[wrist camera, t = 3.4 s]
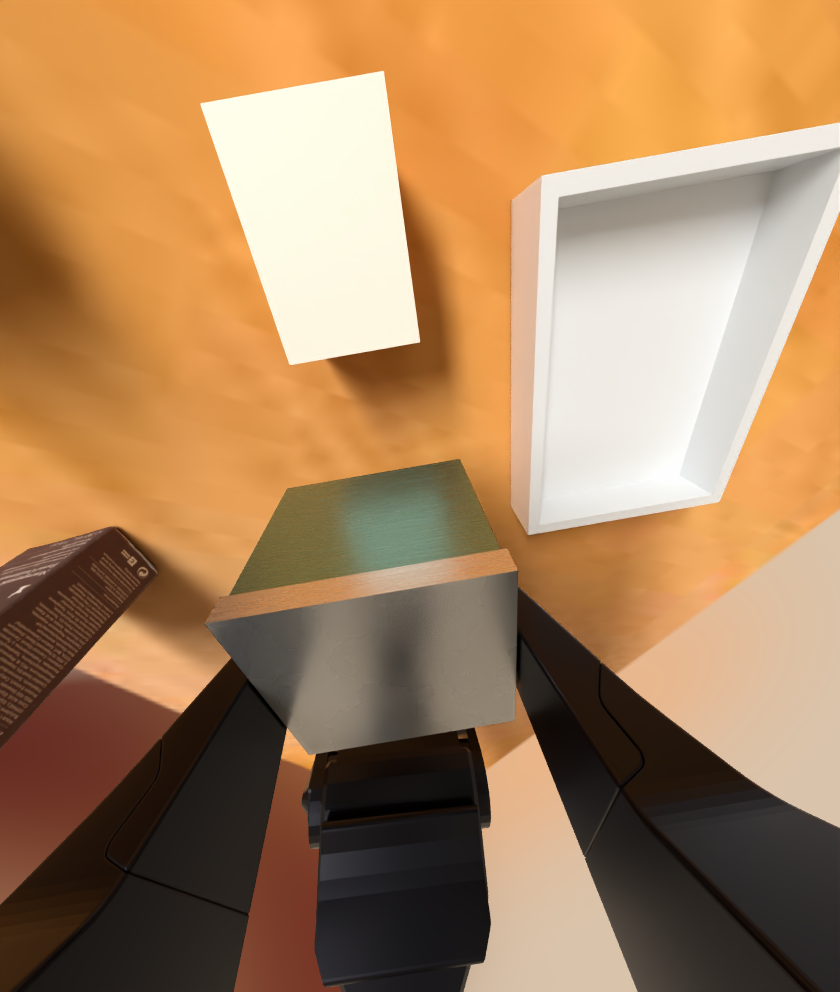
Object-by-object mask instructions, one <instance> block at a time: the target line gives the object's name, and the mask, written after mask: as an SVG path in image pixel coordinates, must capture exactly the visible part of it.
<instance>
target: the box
mask: <svg viewBox="0 0 840 992" xmlns="http://www.w3.org/2000/svg"><path fill="white" fill-rule="evenodd" d="M157 575H158V572H157V571H156V569H155V567H154V565H153V564H152V563H151V562H150V561H148V559H147V558H146V557H145V556H144V555H143V554H142V552H141V551H140V550H138V549H137V548H136V547H135V546H134V545H133V544H132V543H131V542H130V541H129V540H128V539H127V538H126V537H125V536H124V535H123V534H122V533H121V532H120V531H118V530H117V529H116V528H115V527H107V528H104V529H101V530H97V531H94V532H91V533H87V534H84V535H81V536H77V537H73V538H69V539H66V540H63V541H59V542H56V543H52V544H48V545H44V546H39V547H35V548H30V549H27V550H26V551H25V552H23V553H22V554H20V555H18V556H17V557H15V558H14V559H12V560H11V561H9V562H7V563H6V564H5V565H3V566H1V567H0V749H1V748H2V747H3V745H4V744H5V743H6V742H7V741H8V740H9V739H10V738H11V737H12V736H13V735H14V734H15V732H16V731H17V730H18V729H19V728H20V727H21V725H22V724H23V723H24V722H25V721H26V720H27V719H28V717H30V716H31V714H32V713H33V712H34V711H35V710H36V709H37V708H38V707H39V706H40V704H41V703H42V702H43V701H44V700H45V699H46V698H47V697H48V696H49V694H50V693H51V692H52V691H53V690H54V689H55V688H56V687H57V685H58V684H59V683H60V682H61V681H62V680H63V679H64V678H65V677H66V676H67V675H68V674H69V672H70V671H71V670H72V669H73V668H74V667H75V666H76V665H77V664H78V663H79V661H80V660H81V659H82V658H83V657H84V656H85V655H86V654H87V652H88V651H89V650H90V649H91V648H92V647H93V646H94V644H95V643H96V642H97V641H98V640H99V639H100V638H101V637H102V636H103V635H104V633H105V632H106V631H107V630H108V629H109V628H110V627H111V626H112V625H113V624H114V623H115V622H116V620H117V619H118V618H119V617H120V616H121V615H122V614H123V613H124V611H125V610H126V609H127V608H128V607H129V606H130V605H131V604H132V603H133V602H134V601H135V599H136V598H137V597H138V596H139V595H140V594H141V593H142V592H143V590H144V589H145V588H146V587H147V586H148V585H149V584H150V583H151V582H152V581H153V579H154V578H155V577H156V576H157Z"/></svg>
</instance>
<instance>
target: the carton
mask: <svg viewBox="0 0 840 992" xmlns="http://www.w3.org/2000/svg"><path fill="white" fill-rule="evenodd" d="M201 107H202V110H203V113H204V116H205V119H206V122H207V125H208V128H209V131H210V134H211V136H212V139H213V142H214V145H215V148H216V151H217V154H218V157H219V160H220V163H221V166H222V169H223V171H224V174H225V177H226V180H227V183H228V186H229V189H230V192H231V195H232V198H233V201H234V204H235V207H236V209H237V212H238V215H239V218H240V221H241V224H242V227H243V230H244V233H245V236H246V239H247V242H248V244H249V247H250V250H251V253H252V256H253V259H254V262H255V265H256V268H257V271H258V274H259V277H260V280H261V282H262V285H263V288H264V291H265V294H266V297H267V300H268V303H269V306H270V309H271V312H272V315H273V318H274V320H275V323H276V326H277V329H278V332H279V335H280V338H281V341H282V344H283V347H284V350H285V353H286V355H287V358H288V361H289V364H290V365H293V364H299V363H305V362H310V361H316V360H322V359H328V358H333V357H339V356H345V355H350V354H356V353H362V352H368V351H373V350H379V349H385V348H390V347H396V346H402V345H408V344H413V343H419V342H420V338H419V330H418V323H417V315H416V308H415V301H414V293H413V286H412V278H411V271H410V263H409V256H408V249H407V241H406V234H405V226H404V219H403V211H402V204H401V197H400V189H399V182H398V174H397V167H396V160H395V152H394V145H393V137H392V130H391V122H390V115H389V108H388V100H387V93H386V85H385V78H384V71H380V72H375V73H369V74H364V75H358V76H352V77H347V78H341V79H336V80H330V81H324V82H319V83H313V84H308V85H302V86H296V87H291V88H285V89H280V90H274V91H268V92H263V93H257V94H251V95H246V96H240V97H235V98H229V99H223V100H218V101H212V102H207V103H201Z"/></svg>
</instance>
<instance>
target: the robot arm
mask: <svg viewBox="0 0 840 992" xmlns="http://www.w3.org/2000/svg"><path fill="white" fill-rule="evenodd" d="M600 663H601V662H600V660H599V659H598V658H597V657H596V656H595V655H593V654H592V653H591V652H590V651H589V650H588V649H587V648H586V647H585V646H583V645H582V644H581V643H580V642H579V641H578V640H577V639H576V638H575V637H573V636H572V635H571V634H570V633H569V632H568V631H567V630H566V629H565V628H563V627H562V626H561V625H560V624H559V623H558V622H557V621H556V620H555V619H554V618H552V617H551V616H550V615H549V614H548V613H547V612H546V611H545V610H544V609H542V608H541V607H540V606H539V605H538V604H537V603H536V602H535V601H534V600H532V599H531V598H530V597H529V596H528V595H527V594H526V593H525V592H524V591H522V590H521V589H520V588H519V587H518V599H517V651H516V687H517V689H518V692H519V694H520V697H521V699H522V702H523V704H524V707H525V709H526V712H527V714H528V717H529V719H530V722H531V724H532V727H533V729H534V732H535V734H536V737H537V739H538V742H539V745H540V747H541V749H542V752H543V755H544V757H545V759H546V762H547V765H548V767H549V770H550V772H551V775H552V777H553V780H554V782H555V784H556V787H557V790H558V792H559V795H560V797H561V800H562V802H563V805H564V807H565V810H566V812H567V815H568V817H569V820H570V822H571V825H572V827H573V830H574V833H575V835H576V838H577V840H578V843H579V845H580V848H581V850H582V853H583V855H584V856H585V857H586V858H585V860H586V863H587V865H588V868H589V871H590V873H591V876H592V878H593V881H594V883H595V886H596V888H597V891H598V893H599V896H600V898H601V901H602V903H603V905H604V908H605V911H606V913H607V916H608V918H609V921H610V923H611V926H612V928H613V931H614V933H615V936H616V938H617V941H618V943H619V946H620V948H621V951H622V953H623V956H624V958H625V961H626V963H627V966H628V968H629V971H630V973H631V976H632V979H633V981H634V984H635V986H636V989H637V991H638V992H840V828H839V827H837V826H834V825H832V824H830V823H828V822H826V821H824V820H822V819H820V818H818V817H815V816H813V815H811V814H809V813H807V812H805V811H803V810H801V809H798V808H797V807H795V806H793V805H791V804H789V803H787V802H785V801H783V800H781V799H780V798H778V797H776V796H774V795H773V794H771V793H770V792H768V791H766V790H764V789H763V788H761V787H760V786H758V785H757V784H755V783H754V782H752V781H751V780H749V779H748V778H747V777H745V776H744V775H743V774H741V773H740V772H738V771H737V770H736V769H734V768H733V767H732V766H730V765H729V764H728V763H727V762H725V761H724V760H723V759H721V758H720V757H719V756H717V755H716V754H715V753H713V752H712V751H711V750H710V749H708V748H707V747H706V746H704V745H703V744H702V743H700V742H699V741H698V740H696V739H695V738H694V737H692V736H691V735H690V734H689V733H687V732H686V731H685V730H683V729H682V728H681V727H679V726H678V725H677V724H676V723H674V722H673V721H672V720H670V719H669V718H668V717H666V716H665V715H664V714H663V713H661V712H660V711H659V710H658V709H656V708H655V707H654V706H652V705H651V704H650V703H649V702H647V701H646V700H645V699H644V698H642V697H641V696H640V695H639V694H637V693H636V692H635V691H634V690H633V689H632V688H630V687H629V686H628V685H627V684H626V683H625V682H624V681H623V680H621V679H620V678H619V677H618V676H617V675H616V674H615V673H613V672H612V671H611V670H610V669H609V668H608V667H607V666H606V665H605V664H603V663H601V664H600ZM286 730H287V727H286V725H285V724H284V723H283V722H282V720H281V719H280V718H279V717H278V715H277V714H276V713H275V712H274V710H273V709H272V708H271V707H270V705H269V704H268V703H267V702H266V700H265V699H264V698H263V697H262V695H261V694H260V693H259V692H258V690H257V689H256V688H255V687H254V685H253V684H252V683H251V682H250V680H249V679H248V678H247V677H246V675H245V674H244V673H243V672H242V670H241V669H240V668H239V667H238V665H237V664H236V663H235V662H234V660H233V659H232V658H231V659H230V660H229V661H228V662H227V663H226V665H225V666H224V667H223V668H222V669H221V670H220V671H219V672H218V674H217V675H216V676H215V677H214V678H213V679H212V680H211V681H210V683H209V684H208V685H207V686H206V687H205V688H204V689H203V690H202V692H201V693H200V694H199V695H198V696H197V697H196V698H195V699H194V701H193V702H192V703H191V704H190V705H189V706H188V707H187V708H186V710H185V711H184V712H183V713H182V714H181V715H180V717H179V718H178V719H177V720H176V721H175V722H174V723H173V724H172V725H171V727H170V728H169V729H168V730H167V731H166V732H165V733H164V735H163V736H162V739H159V740H158V741H157V742H156V743H155V744H154V746H153V747H152V748H151V749H150V750H149V751H148V752H147V753H146V755H145V756H144V757H143V758H142V759H141V760H140V761H139V762H138V763H137V764H136V766H135V767H134V768H133V769H132V770H131V771H130V772H129V773H128V774H127V775H126V777H125V778H124V779H123V780H122V781H121V782H120V783H119V784H118V786H116V787H115V788H114V789H113V790H112V791H111V793H110V794H109V795H108V796H107V797H106V798H105V799H104V800H103V801H102V802H101V803H100V804H99V805H98V806H97V807H96V808H95V809H94V810H93V811H92V812H91V813H90V814H89V816H87V818H86V819H84V821H83V822H82V823H81V824H80V825H79V826H78V827H77V828H76V829H75V830H74V831H73V832H72V833H71V834H70V835H69V836H68V837H67V838H66V839H65V840H64V841H63V842H62V843H61V844H60V845H59V846H58V847H57V848H56V849H55V850H54V851H53V852H52V853H51V854H50V855H49V856H48V857H47V858H46V859H45V860H44V861H43V862H42V863H41V864H40V865H39V866H38V867H37V868H36V869H35V870H34V871H33V872H32V873H31V874H30V875H29V877H27V878H26V880H25V881H24V882H23V883H22V884H21V885H20V886H19V887H18V888H17V889H16V890H15V891H14V892H13V893H12V894H11V895H10V896H9V897H8V898H6V900H4V901H3V902H2V904H0V992H234V987H235V982H236V977H237V972H238V967H239V962H240V957H241V952H242V948H243V943H244V938H245V933H246V927H247V923H248V918H249V915H248V913H249V912H250V907H251V902H252V897H253V892H254V887H255V882H256V877H257V872H258V868H259V863H260V858H261V853H262V848H263V843H264V838H265V833H266V828H267V824H268V819H269V814H270V809H271V804H272V798H273V794H274V789H275V784H276V779H277V774H278V770H279V765H280V760H281V755H282V750H283V745H284V740H285V735H286ZM302 807H303V808H304V810H305V812H306V813H307V814H308V825H309V826H308V827H309V844H310V847H311V848H312V849H317V848H319V865H318V887H317V910H316V918H317V919H316V921H317V922H316V933H315V954H316V958H317V962H318V966H319V970H320V974H321V978H322V982H323V985H324V986H325V987H331V986H338V985H340V988H341V990H342V992H463V991H464V988H465V984H466V980H467V977H468V973H469V969H470V966H471V965H473V964H480V963H483V962H484V960H485V956H486V950H487V944H488V938H489V932H490V926H491V919H490V911H489V905H488V887H487V877H486V868H485V858H484V849H483V839H482V830H481V829H482V828H489V827H490V822H491V811H490V797H489V789H488V782H487V776H486V770H485V765H484V761H483V757H482V753H481V749H480V745H479V742H478V738H477V735H476V731H475V728H468V729H462V730H456V731H450V732H444V733H438V734H432V735H426V736H420V737H414V738H408V739H402V740H396V741H390V742H384V743H378V744H372V745H366V746H360V747H354V748H348V749H342V750H336V751H330V752H324V753H318V754H316V757H315V761H314V764H313V766H312V769H311V772H310V775H309V778H308V781H307V784H306V787H305V789H304V792H303V797H302Z"/></svg>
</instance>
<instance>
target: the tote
mask: <svg viewBox="0 0 840 992" xmlns="http://www.w3.org/2000/svg"><path fill="white" fill-rule="evenodd" d="M839 212H840V123H834V124H829V125H823V126H818V127H812V128H806V129H801V130H795V131H789V132H784V133H778V134H773V135H767V136H761V137H756V138H750V139H744V140H739V141H733V142H728V143H722V144H716V145H711V146H705V147H700V148H694V149H688V150H683V151H677V152H671V153H666V154H660V155H655V156H649V157H643V158H638V159H632V160H626V161H621V162H615V163H610V164H604V165H598V166H593V167H587V168H581V169H576V170H570V171H565V172H559V173H553V174H548V175H542V176H541V177H539V178H538V179H537V180H536V181H535V182H533V183H532V184H531V185H530V186H529V187H527V188H526V189H525V190H524V191H522V192H521V193H520V194H519V195H518V196H516V197H515V198H514V199H513V200H511V508H512V509H513V511H514V513H515V514H516V516H517V517H518V519H519V521H520V522H521V524H522V526H523V527H524V529H525V531H526V532H527V534H528V535H532V534H538V533H544V532H549V531H555V530H561V529H567V528H572V527H578V526H584V525H590V524H596V523H601V522H607V521H613V520H619V519H624V518H630V517H636V516H642V515H647V514H653V513H659V512H665V511H670V510H676V509H682V508H688V507H694V506H699V505H705V504H711V503H717V502H719V501H720V499H721V497H722V494H723V492H724V489H725V487H726V485H727V482H728V480H729V477H730V475H731V472H732V470H733V468H734V465H735V463H736V460H737V458H738V456H739V453H740V451H741V448H742V446H743V444H744V441H745V439H746V436H747V434H748V431H749V429H750V427H751V424H752V422H753V419H754V417H755V415H756V412H757V410H758V407H759V405H760V402H761V400H762V398H763V395H764V393H765V390H766V388H767V386H768V383H769V381H770V378H771V376H772V373H773V371H774V369H775V366H776V364H777V361H778V359H779V357H780V354H781V352H782V349H783V347H784V344H785V342H786V340H787V337H788V335H789V332H790V330H791V328H792V325H793V323H794V320H795V318H796V315H797V313H798V311H799V308H800V306H801V303H802V301H803V299H804V296H805V294H806V291H807V289H808V286H809V284H810V282H811V279H812V277H813V274H814V272H815V270H816V267H817V265H818V262H819V260H820V257H821V255H822V253H823V250H824V248H825V245H826V243H827V241H828V238H829V236H830V233H831V231H832V229H833V226H834V224H835V221H836V219H837V216H838V214H839Z"/></svg>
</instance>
